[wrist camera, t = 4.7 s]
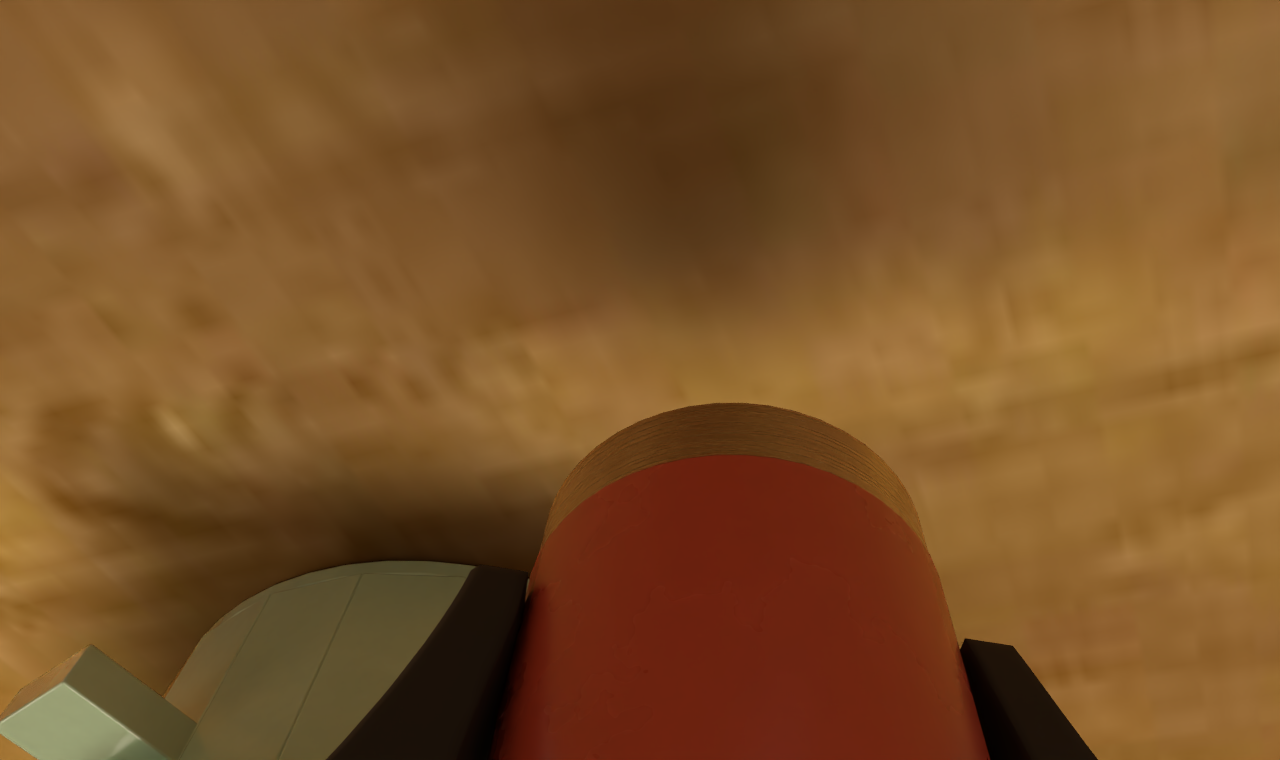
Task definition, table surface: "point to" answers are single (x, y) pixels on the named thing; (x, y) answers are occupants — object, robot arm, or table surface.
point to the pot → (249, 674)
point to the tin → (735, 604)
